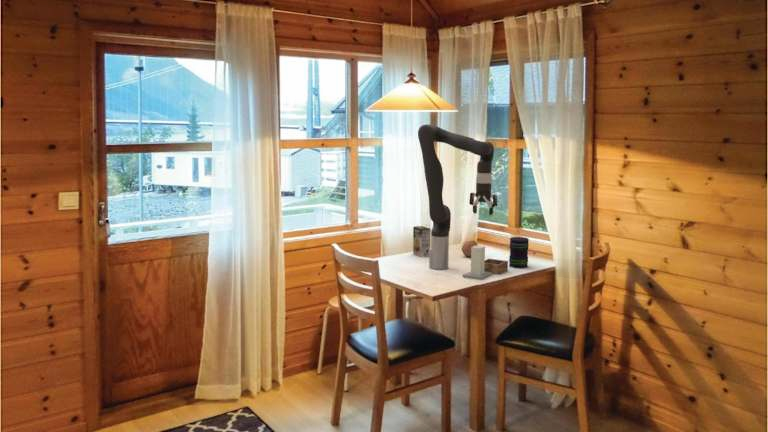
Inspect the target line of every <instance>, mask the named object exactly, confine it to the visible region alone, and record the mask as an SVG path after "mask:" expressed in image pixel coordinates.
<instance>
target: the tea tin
mask: <svg viewBox="0 0 768 432" xmlns="http://www.w3.org/2000/svg"><path fill="white" fill-rule="evenodd" d="M485 253H486V246H484V245H483V246H481V245H478V246H473V247H471V257H470V271H471V274H475V275H482V274H484V265H485V259H486V254H485Z"/></svg>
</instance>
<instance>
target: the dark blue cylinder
mask: <svg viewBox="0 0 768 432" xmlns="http://www.w3.org/2000/svg"><path fill="white" fill-rule="evenodd" d="M529 241H530V240H529V238H528V237H523V236H513V237H510V238H509V259H508V261H509V262H508V267H509V268H514V269H526V268H528V267H529V266H528V263H529V256H528V254H529V252H528V251H529V245H530V244H529V243H530V242H529Z"/></svg>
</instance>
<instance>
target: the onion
mask: <svg viewBox="0 0 768 432" xmlns="http://www.w3.org/2000/svg"><path fill="white" fill-rule="evenodd" d="M473 246H479V245H478V242H476V241H474V240H471V241H470V240H469V241H466V242H464V243H463V244H462V246H461V252H462V253H463V255H464V256H465V257H467V258H471V247H473Z"/></svg>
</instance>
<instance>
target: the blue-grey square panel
mask: <svg viewBox="0 0 768 432" xmlns="http://www.w3.org/2000/svg"><path fill="white" fill-rule="evenodd" d="M492 275H493V274H492V272H485V271H484V274H482V275H475V274H471V270H470V271H468V272H466V273H464V274H462V277H463V278H466V279H472V280H479V281H480V280H485V279H486V278H488V277H491V276H492Z"/></svg>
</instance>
